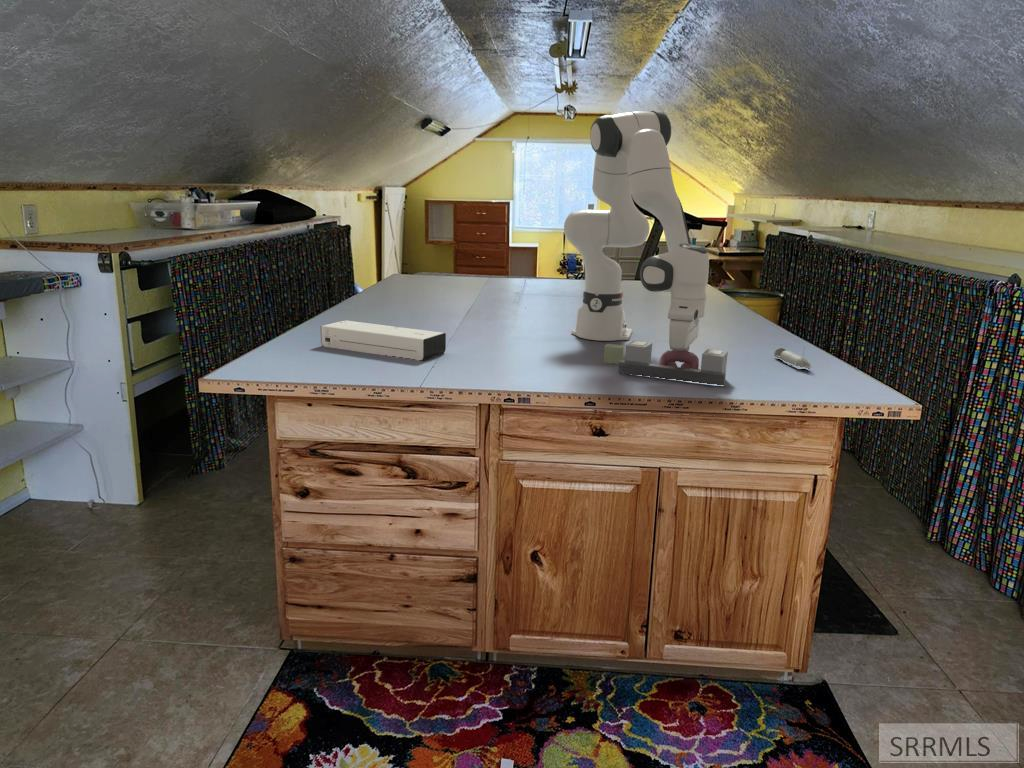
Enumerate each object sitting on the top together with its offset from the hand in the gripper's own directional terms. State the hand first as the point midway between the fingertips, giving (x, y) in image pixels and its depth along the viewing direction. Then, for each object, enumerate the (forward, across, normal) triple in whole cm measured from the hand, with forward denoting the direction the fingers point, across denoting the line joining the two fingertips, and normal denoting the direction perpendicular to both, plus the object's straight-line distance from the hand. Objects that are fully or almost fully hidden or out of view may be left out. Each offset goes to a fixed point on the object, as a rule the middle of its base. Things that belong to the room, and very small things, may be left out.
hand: (682, 361), depth 191 cm
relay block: (+2, +1, -18) cm, 18 cm away
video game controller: (+2, +5, 0) cm, 5 cm away
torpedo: (+3, -21, +26) cm, 34 cm away
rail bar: (+2, +12, 0) cm, 13 cm away
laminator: (+3, +21, -79) cm, 82 cm away
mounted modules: (+2, +8, 0) cm, 8 cm away
